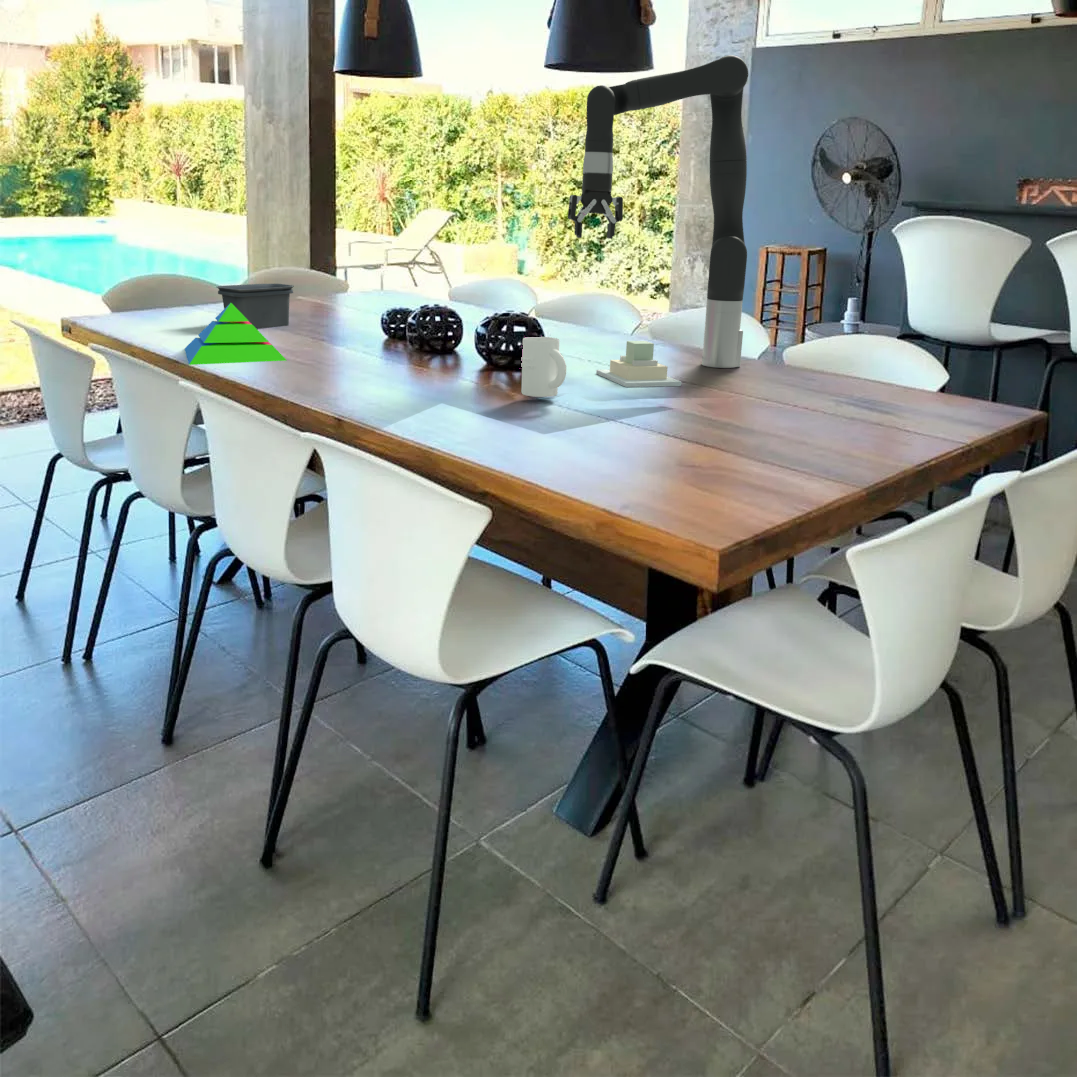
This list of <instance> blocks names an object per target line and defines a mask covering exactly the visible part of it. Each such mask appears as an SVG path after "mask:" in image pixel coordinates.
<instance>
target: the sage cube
mask: <svg viewBox="0 0 1077 1077" xmlns="http://www.w3.org/2000/svg"><path fill="white" fill-rule="evenodd" d="M654 347H655V343H653V342H651V341H647V340H626V349H625V356H626V362H627V363H630V364H632V360H654V351H655V350H654Z"/></svg>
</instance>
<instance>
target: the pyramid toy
mask: <svg viewBox="0 0 1077 1077" xmlns="http://www.w3.org/2000/svg"><path fill="white" fill-rule="evenodd" d="M214 319H215V320H211V322H209V324H208V325H206V327H205V328H203V330H202V331H200V333H198V336H197V337H194V338H193V340H191V342H189V343H188V345H186V346H185V348H184V352H185V354H186V360H187V363H188V366H191V365H192V366H193V365H197V366H198V365H216V364H217V365H219V364H236V363H237V364H238V363H258V362H260V363H261V362H278V361H279V362H281V361H282V362H283V361H284V362H285V361H288V360H287V359H286V358H285V357H284V356H283V355H282V353H281V352H280V351H278V350H277V349H276V348H275V346H274V345H273V344H272V343H270V341H269V340H268V339H267V338H266V337H265V336H264V335H263V334H262V333H261V332H260V331H259V329H256V328H255V327H254V326H253V325H252V324H251V323H250V322H249V321H248V320H247V318H246V317H245V316H244V315H243V314H242V313H241V312H240V311H239V310H238V309H237V308H236V307H235V306H234V305H233V304H232V303H230V304H229V305H228V306H227V307H226V308H225V309H224V308H223V310H221V312H220V313H219V314H218V315H217V316H216V317H214Z"/></svg>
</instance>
